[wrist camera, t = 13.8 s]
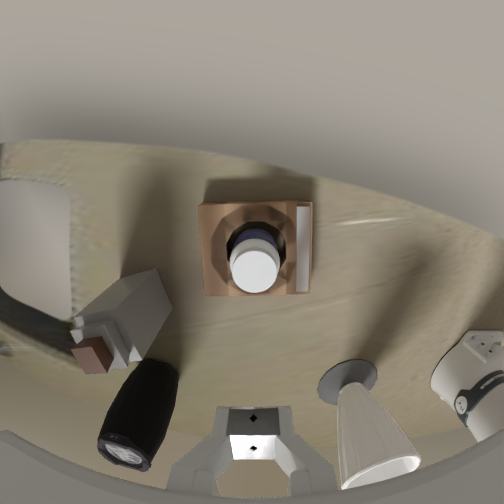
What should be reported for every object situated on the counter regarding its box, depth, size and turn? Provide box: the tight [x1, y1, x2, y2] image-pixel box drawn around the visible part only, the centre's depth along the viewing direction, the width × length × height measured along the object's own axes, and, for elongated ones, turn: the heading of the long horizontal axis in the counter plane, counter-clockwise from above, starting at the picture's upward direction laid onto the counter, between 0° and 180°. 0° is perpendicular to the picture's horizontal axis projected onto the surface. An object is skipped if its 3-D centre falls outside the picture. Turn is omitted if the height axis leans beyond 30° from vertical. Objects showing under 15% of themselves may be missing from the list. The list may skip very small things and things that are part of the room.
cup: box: [318, 360, 421, 490], centre depth 34 cm, size 12×12×22 cm
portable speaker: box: [97, 359, 178, 472], centre depth 35 cm, size 9×9×20 cm
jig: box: [198, 200, 312, 296], centre depth 36 cm, size 14×12×3 cm
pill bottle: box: [230, 228, 280, 293], centre depth 33 cm, size 6×6×10 cm
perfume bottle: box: [70, 268, 173, 374], centre depth 32 cm, size 7×7×18 cm
